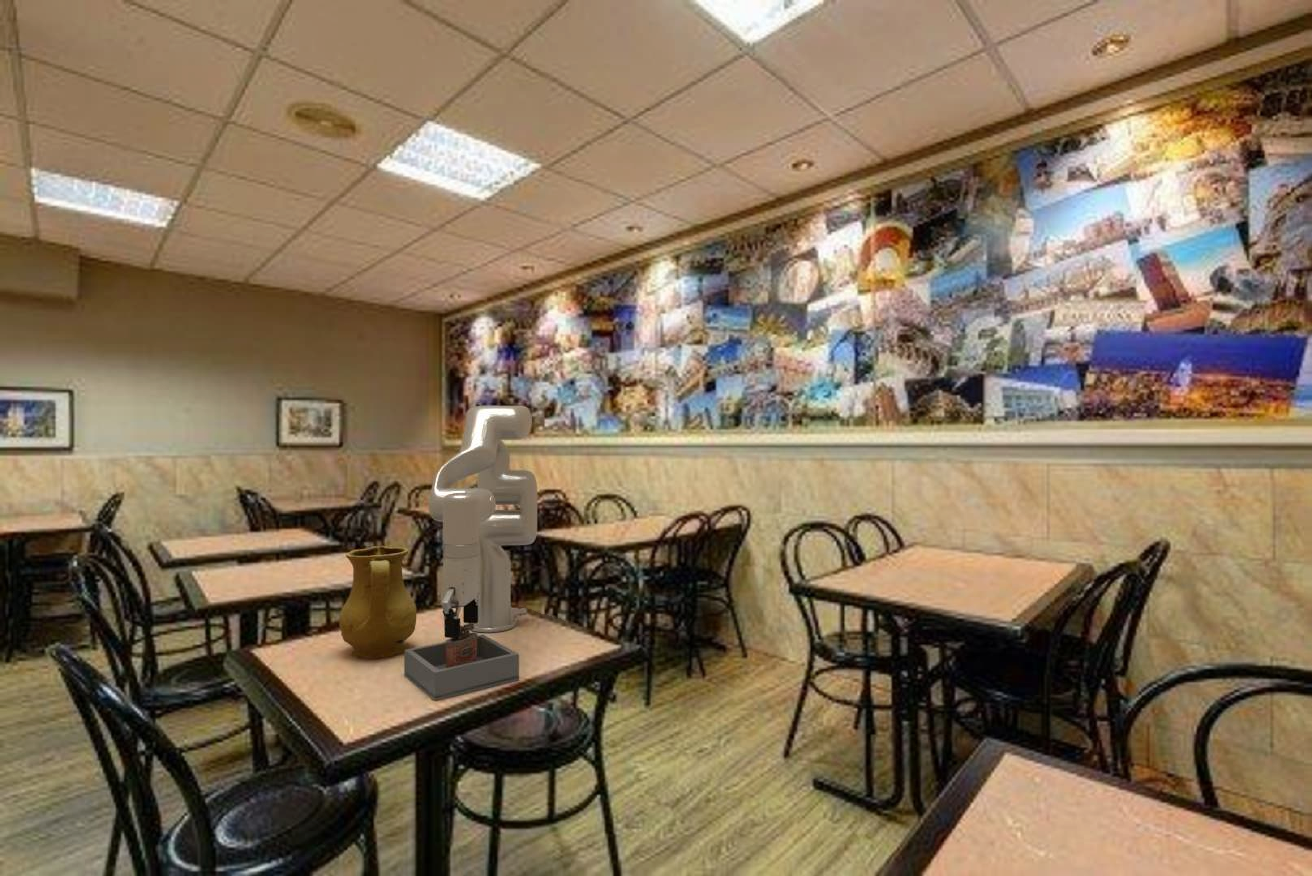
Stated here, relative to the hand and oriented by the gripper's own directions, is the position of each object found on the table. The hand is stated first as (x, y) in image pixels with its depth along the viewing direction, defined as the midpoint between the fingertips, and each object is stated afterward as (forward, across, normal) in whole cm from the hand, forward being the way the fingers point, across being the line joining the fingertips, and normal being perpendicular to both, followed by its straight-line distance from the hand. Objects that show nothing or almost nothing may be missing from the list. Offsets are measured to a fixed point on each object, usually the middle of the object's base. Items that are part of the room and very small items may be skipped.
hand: (461, 629), depth 142 cm
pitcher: (+11, -13, -27) cm, 32 cm away
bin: (+10, +1, 0) cm, 10 cm away
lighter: (+9, +1, 0) cm, 9 cm away
